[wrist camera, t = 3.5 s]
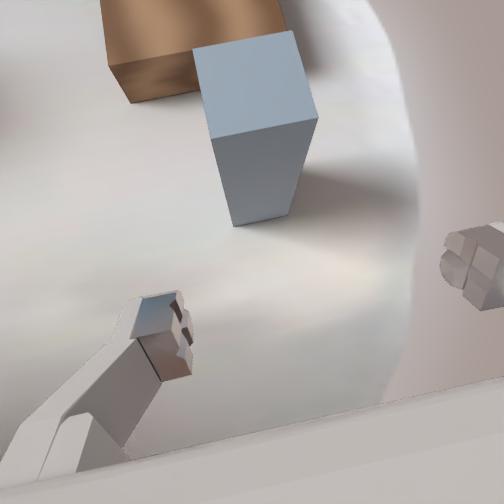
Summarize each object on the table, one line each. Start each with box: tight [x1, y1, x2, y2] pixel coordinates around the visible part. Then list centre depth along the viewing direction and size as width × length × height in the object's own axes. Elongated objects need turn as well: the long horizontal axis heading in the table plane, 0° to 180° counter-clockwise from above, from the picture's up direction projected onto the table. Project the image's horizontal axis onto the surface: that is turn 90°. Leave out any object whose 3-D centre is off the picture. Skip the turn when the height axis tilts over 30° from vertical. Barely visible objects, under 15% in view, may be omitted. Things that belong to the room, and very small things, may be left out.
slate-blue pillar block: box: [192, 30, 318, 227], centre depth 18 cm, size 4×4×12 cm
